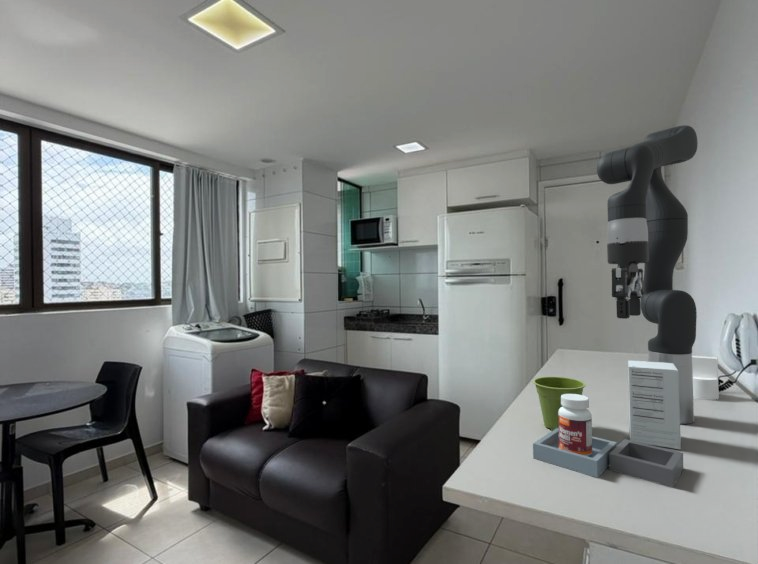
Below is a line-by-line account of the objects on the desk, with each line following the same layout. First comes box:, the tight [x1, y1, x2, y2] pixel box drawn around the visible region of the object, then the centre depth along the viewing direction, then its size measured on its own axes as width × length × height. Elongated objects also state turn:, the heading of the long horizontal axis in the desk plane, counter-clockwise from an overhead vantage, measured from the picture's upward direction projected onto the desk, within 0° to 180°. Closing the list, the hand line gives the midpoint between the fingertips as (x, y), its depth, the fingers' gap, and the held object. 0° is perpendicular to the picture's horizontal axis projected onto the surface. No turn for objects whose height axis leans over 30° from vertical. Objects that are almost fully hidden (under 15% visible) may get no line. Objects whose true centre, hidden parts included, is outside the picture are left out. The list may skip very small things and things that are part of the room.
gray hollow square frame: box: [609, 438, 684, 488], centre depth 76 cm, size 10×10×3 cm
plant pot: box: [532, 376, 587, 431], centre depth 98 cm, size 12×12×11 cm
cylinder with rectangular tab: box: [692, 355, 720, 401], centre depth 123 cm, size 9×9×12 cm
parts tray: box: [532, 428, 618, 479], centre depth 81 cm, size 12×12×3 cm
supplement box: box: [627, 360, 682, 451], centre depth 90 cm, size 10×9×17 cm
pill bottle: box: [558, 394, 593, 457], centre depth 81 cm, size 6×6×11 cm
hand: (629, 316), depth 85 cm, fingers open, 8 cm apart
